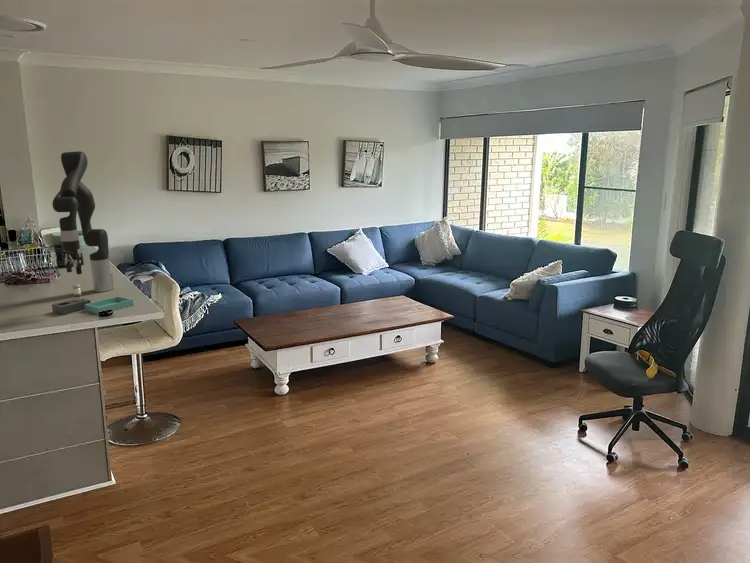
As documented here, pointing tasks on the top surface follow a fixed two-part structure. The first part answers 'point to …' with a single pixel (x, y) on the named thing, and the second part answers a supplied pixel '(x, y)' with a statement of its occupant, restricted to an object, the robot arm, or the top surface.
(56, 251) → the storage jar
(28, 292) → the top surface
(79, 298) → the fuse
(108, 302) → the tray
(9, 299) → the top surface
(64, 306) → the block
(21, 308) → the top surface
